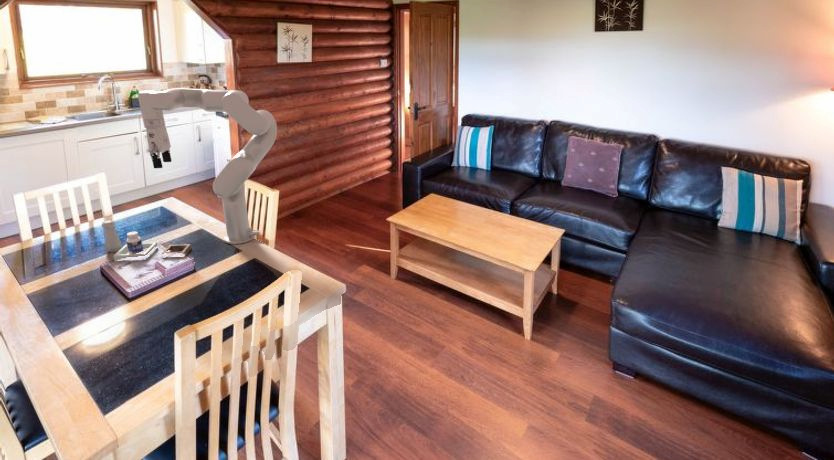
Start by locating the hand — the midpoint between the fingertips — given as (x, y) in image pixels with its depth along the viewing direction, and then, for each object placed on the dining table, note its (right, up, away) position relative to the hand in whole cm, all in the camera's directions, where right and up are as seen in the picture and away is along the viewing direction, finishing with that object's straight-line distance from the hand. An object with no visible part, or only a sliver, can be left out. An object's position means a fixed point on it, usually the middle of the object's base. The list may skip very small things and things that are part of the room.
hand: (163, 164), depth 200 cm
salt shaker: (-22, -36, +4) cm, 42 cm away
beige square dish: (+5, -36, +2) cm, 37 cm away
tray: (-11, -37, 0) cm, 38 cm away
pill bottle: (-11, -37, 0) cm, 38 cm away
